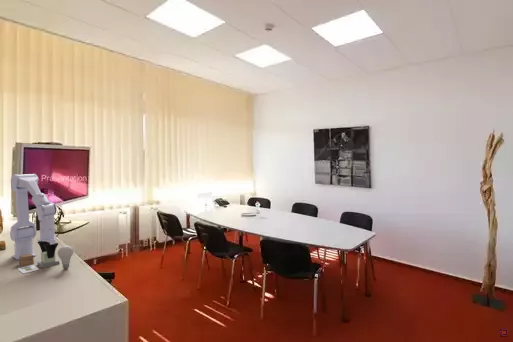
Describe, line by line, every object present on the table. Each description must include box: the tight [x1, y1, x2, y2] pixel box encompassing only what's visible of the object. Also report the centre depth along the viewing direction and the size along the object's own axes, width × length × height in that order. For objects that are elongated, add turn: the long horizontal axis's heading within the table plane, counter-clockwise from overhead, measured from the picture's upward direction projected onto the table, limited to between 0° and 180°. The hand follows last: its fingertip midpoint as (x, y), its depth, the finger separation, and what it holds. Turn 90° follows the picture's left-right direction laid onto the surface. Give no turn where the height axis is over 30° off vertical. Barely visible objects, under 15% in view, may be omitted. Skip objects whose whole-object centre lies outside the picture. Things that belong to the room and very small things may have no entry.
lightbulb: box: [57, 245, 74, 270], centre depth 131 cm, size 6×6×11 cm
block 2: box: [40, 251, 56, 264], centre depth 138 cm, size 4×4×4 cm
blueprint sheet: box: [16, 264, 40, 275], centre depth 132 cm, size 10×6×1 cm, turn 52°
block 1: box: [18, 253, 35, 267], centre depth 138 cm, size 4×4×4 cm
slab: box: [36, 257, 60, 269], centre depth 138 cm, size 7×7×2 cm
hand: (48, 256), depth 138 cm, fingers open, 7 cm apart
